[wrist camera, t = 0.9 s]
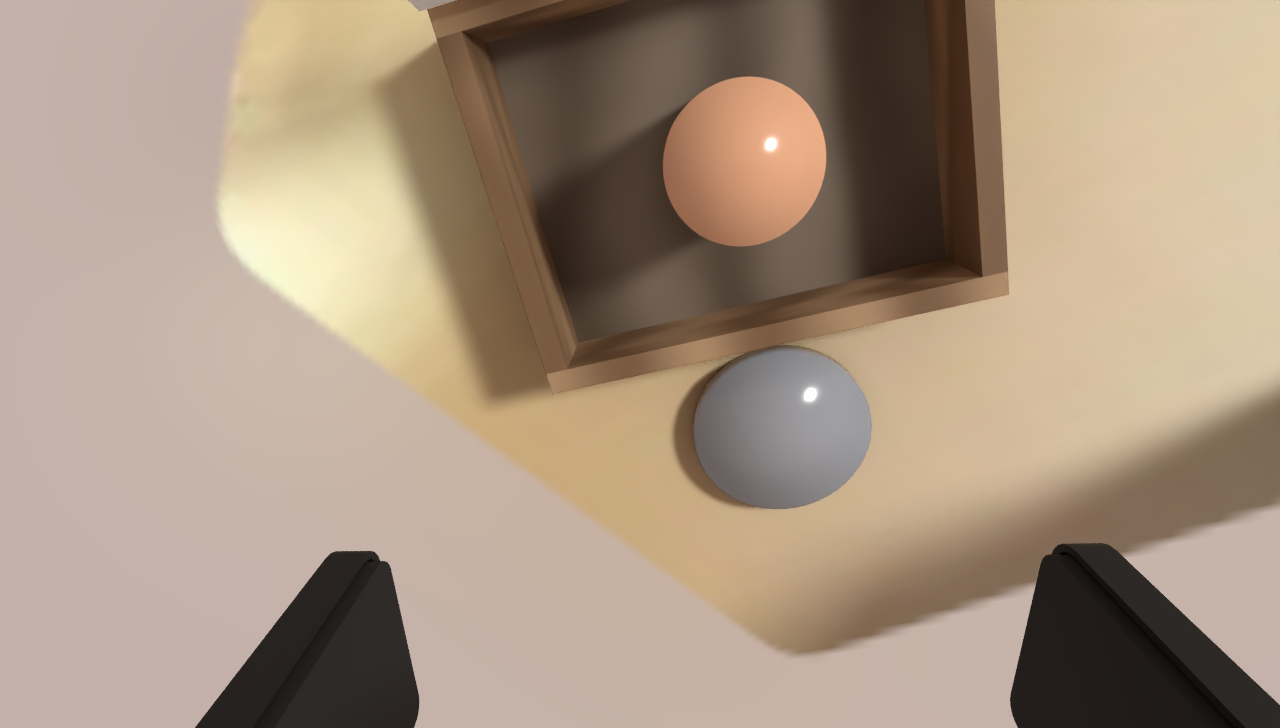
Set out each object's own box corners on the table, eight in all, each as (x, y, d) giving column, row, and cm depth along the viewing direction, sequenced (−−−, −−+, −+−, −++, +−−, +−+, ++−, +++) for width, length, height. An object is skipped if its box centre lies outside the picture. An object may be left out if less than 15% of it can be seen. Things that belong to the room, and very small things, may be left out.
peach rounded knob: (778, 71, 27) (813, 55, 20) (799, 202, 29) (837, 225, 22) (651, 106, 28) (645, 101, 21) (679, 231, 30) (682, 262, 23)
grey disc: (854, 327, 31) (859, 334, 30) (875, 481, 34) (881, 491, 33) (676, 366, 32) (676, 373, 31) (712, 512, 35) (713, 522, 34)
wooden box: (938, -120, 25) (986, -163, 21) (966, 273, 30) (1009, 294, 26) (460, 24, 27) (427, 9, 23) (566, 362, 33) (552, 393, 29)
